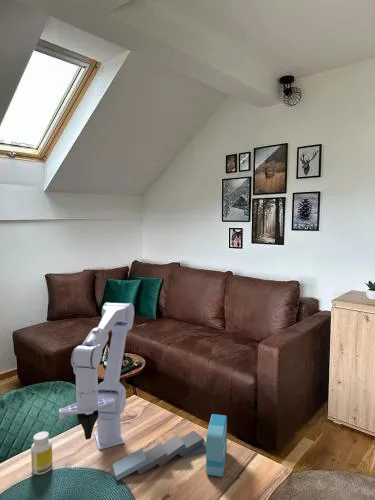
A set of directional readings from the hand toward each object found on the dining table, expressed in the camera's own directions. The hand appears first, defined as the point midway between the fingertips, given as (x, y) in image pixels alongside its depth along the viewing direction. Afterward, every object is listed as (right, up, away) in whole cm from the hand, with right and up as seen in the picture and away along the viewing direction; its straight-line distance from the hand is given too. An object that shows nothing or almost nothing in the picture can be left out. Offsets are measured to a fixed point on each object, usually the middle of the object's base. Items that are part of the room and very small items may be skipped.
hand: (87, 437), depth 94 cm
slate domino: (+7, -10, 0) cm, 12 cm away
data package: (+36, -10, +4) cm, 38 cm away
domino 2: (+18, -9, +5) cm, 21 cm away
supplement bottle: (-14, -11, +3) cm, 17 cm away
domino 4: (+25, -10, +9) cm, 28 cm away
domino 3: (+24, -8, +8) cm, 27 cm away
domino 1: (+13, -10, +2) cm, 16 cm away
